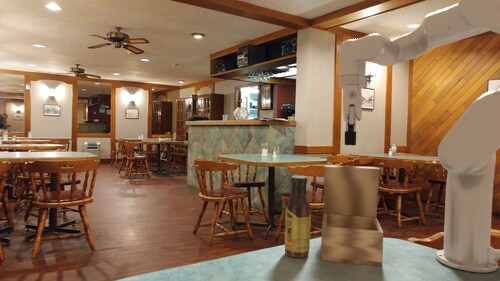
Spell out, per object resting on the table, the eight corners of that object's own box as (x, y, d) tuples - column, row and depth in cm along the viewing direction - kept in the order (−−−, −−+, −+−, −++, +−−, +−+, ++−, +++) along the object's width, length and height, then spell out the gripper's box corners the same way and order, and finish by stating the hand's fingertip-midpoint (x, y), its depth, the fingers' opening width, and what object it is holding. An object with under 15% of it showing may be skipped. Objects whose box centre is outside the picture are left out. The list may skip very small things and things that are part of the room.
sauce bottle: (283, 249, 92) (285, 174, 92) (307, 250, 92) (309, 174, 91) (285, 259, 86) (287, 177, 85) (311, 260, 86) (313, 178, 85)
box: (375, 246, 96) (376, 217, 96) (382, 266, 82) (383, 232, 82) (322, 242, 99) (323, 213, 99) (320, 260, 86) (321, 227, 85)
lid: (376, 217, 96) (375, 215, 97) (379, 168, 92) (379, 167, 93) (323, 213, 99) (323, 211, 100) (324, 166, 95) (324, 165, 96)
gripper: (367, 79, 96) (365, 146, 97) (363, 85, 111) (361, 144, 112) (339, 79, 98) (337, 145, 99) (338, 86, 113) (336, 143, 114)
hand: (350, 144), depth 105 cm, fingers closed
